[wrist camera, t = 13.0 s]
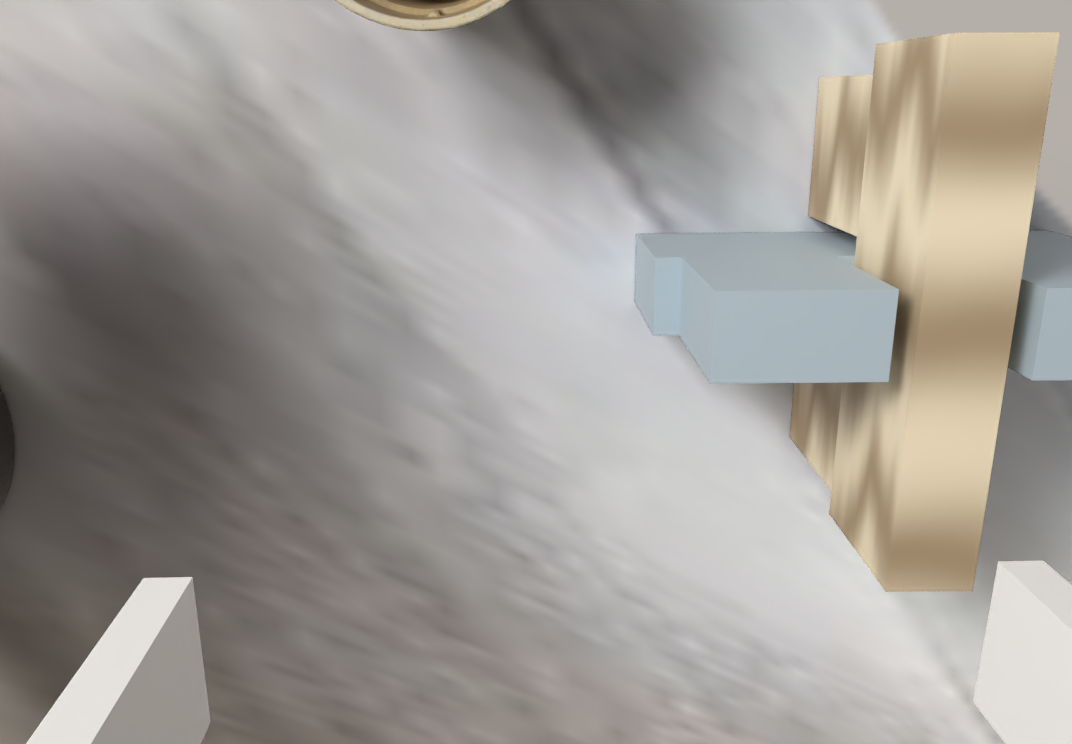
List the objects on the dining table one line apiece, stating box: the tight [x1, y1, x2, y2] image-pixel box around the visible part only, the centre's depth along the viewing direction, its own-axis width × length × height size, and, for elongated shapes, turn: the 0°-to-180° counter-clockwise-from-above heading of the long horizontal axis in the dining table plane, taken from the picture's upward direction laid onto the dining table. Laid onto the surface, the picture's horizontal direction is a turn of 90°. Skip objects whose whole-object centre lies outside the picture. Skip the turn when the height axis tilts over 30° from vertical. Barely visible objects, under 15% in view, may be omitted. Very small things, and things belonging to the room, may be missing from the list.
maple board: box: [790, 32, 1060, 592], centre depth 34 cm, size 18×3×12 cm, turn 0°
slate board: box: [634, 230, 1072, 384], centre depth 34 cm, size 18×3×12 cm, turn 90°
